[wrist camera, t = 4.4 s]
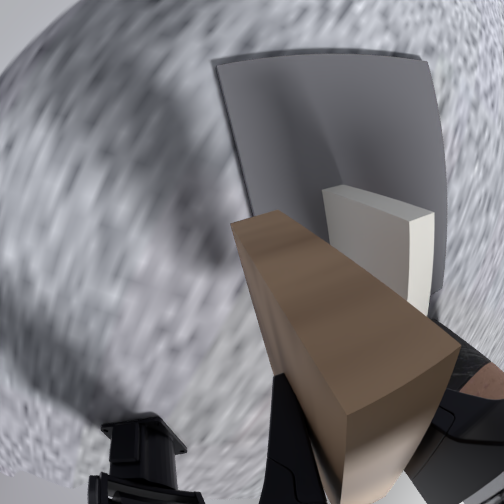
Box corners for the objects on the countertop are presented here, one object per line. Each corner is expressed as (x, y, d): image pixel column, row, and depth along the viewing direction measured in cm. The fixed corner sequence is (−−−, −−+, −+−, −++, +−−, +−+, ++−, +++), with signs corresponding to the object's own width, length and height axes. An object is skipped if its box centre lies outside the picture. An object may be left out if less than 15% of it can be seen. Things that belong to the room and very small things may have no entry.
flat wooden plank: (307, 364, 15) (385, 496, 6) (274, 377, 14) (338, 518, 6) (278, 209, 11) (461, 344, 3) (230, 223, 11) (347, 415, 3)
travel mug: (379, 359, 24) (500, 506, 5) (433, 303, 23) (572, 422, 5) (401, 382, 27) (495, 497, 8) (446, 336, 26) (551, 435, 8)
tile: (354, 288, 19) (421, 349, 12) (335, 296, 19) (399, 362, 12) (343, 184, 16) (434, 212, 9) (321, 189, 16) (409, 221, 9)
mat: (438, 286, 22) (442, 288, 22) (286, 356, 20) (288, 360, 20) (423, 62, 15) (427, 61, 14) (215, 68, 13) (216, 65, 12)
